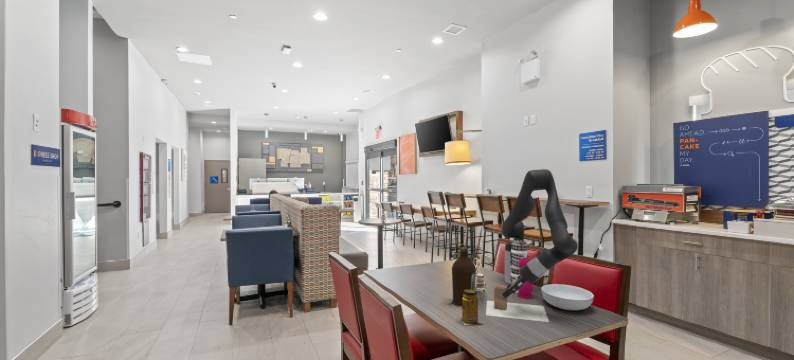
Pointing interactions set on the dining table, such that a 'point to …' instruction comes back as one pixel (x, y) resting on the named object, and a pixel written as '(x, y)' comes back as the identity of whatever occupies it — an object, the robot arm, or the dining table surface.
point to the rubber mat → (518, 311)
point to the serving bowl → (567, 296)
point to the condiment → (470, 308)
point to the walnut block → (500, 298)
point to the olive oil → (462, 276)
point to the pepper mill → (527, 288)
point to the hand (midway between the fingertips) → (505, 293)
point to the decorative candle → (517, 257)
